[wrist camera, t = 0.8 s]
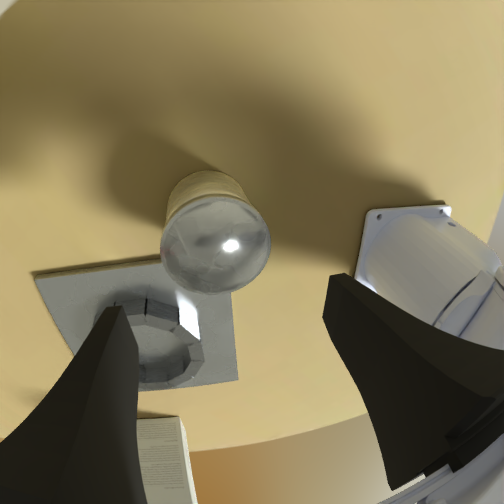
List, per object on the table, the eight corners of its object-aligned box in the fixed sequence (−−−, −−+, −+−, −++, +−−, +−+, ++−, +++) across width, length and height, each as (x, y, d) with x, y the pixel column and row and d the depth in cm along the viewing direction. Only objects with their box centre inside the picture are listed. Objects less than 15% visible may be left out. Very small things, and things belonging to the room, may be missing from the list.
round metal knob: (247, 163, 17) (271, 192, 13) (249, 240, 19) (270, 287, 15) (159, 173, 16) (151, 206, 12) (171, 250, 18) (170, 301, 14)
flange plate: (226, 249, 19) (232, 268, 17) (237, 375, 27) (241, 393, 25) (37, 275, 17) (26, 294, 15) (100, 388, 24) (98, 406, 22)
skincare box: (141, 432, 30) (147, 516, 20) (130, 418, 28) (134, 511, 18) (187, 429, 31) (200, 515, 21) (180, 415, 29) (194, 511, 19)
